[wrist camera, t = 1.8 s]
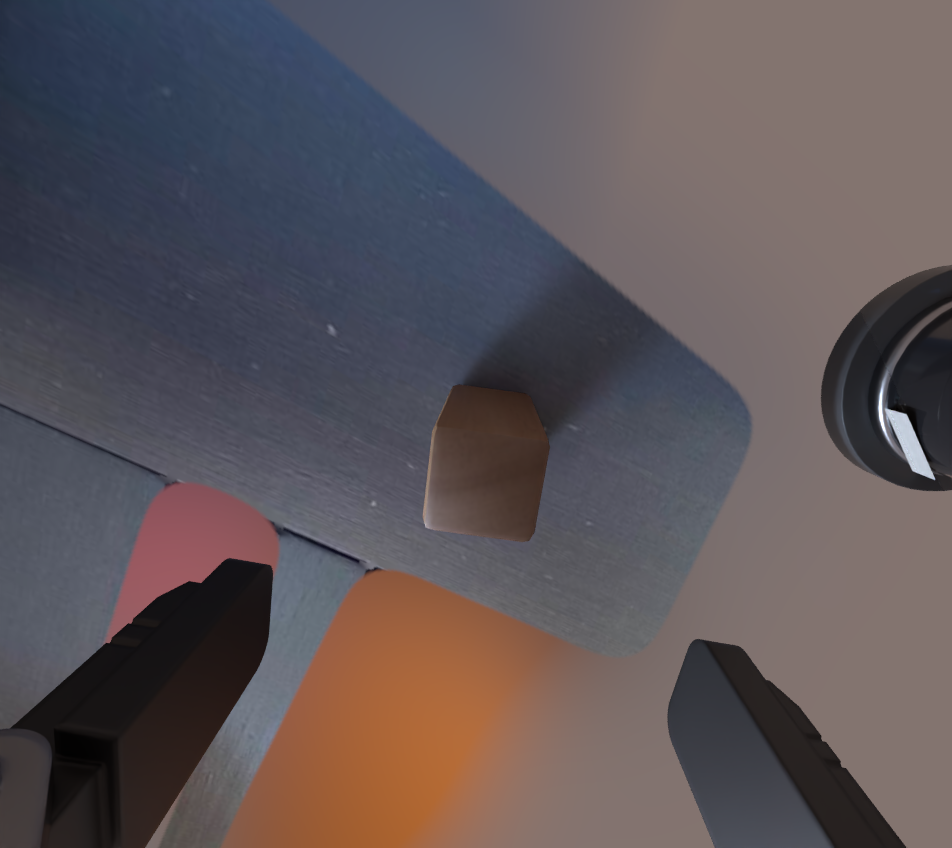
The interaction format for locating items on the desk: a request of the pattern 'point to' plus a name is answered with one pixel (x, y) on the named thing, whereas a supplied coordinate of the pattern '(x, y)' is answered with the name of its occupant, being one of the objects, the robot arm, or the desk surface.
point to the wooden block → (486, 465)
